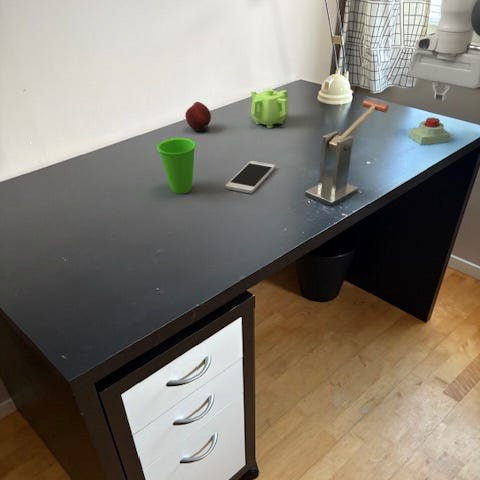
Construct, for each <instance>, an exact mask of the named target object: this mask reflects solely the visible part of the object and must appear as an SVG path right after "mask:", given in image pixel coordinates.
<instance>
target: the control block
mask: <svg viewBox="0 0 480 480" xmlns="http://www.w3.org/2000/svg"><path fill="white" fill-rule="evenodd" d="M425 123H426V120H423V121H421V122H419V125H418V127H413V128H411V127H410V128H409V132H408V135H407V136H408V137H409V138H410V139H411V140H413V141H414V142H415V143H417V144H418V145H419V146H425V145H431V144H441V143H448V142H450V140H451V136H452V133H451V132H449V131H447V130H446V129H445V125H444V123H443V122H439V126H438V127H435V128H432V127H427V126H425Z"/></svg>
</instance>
